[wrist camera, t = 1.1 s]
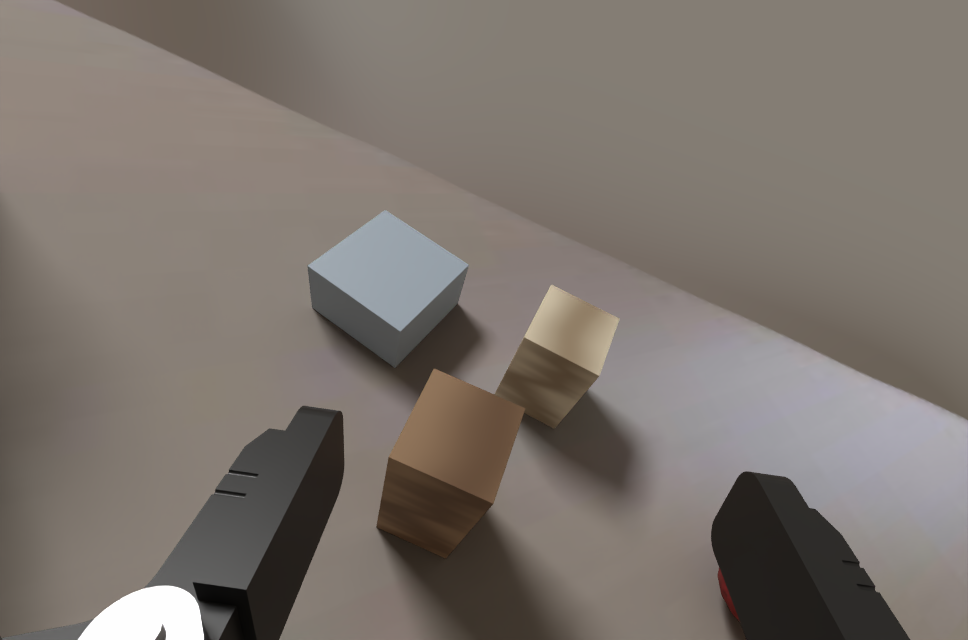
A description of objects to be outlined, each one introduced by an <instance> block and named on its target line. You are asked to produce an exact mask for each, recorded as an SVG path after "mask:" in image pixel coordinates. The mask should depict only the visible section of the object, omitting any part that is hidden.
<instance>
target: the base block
mask: <svg viewBox="0 0 968 640" xmlns="http://www.w3.org/2000/svg"><path fill="white" fill-rule="evenodd" d="M468 266H469V265H468V264H467V263H465V262H464V261H462V260H461V259H459V258H458V257H456V256H455V255H453V254H451V253H450V252H448V251H447V250H445V249H444V248H442V247H441V246H439V245H438V244H436V243H435V242H433V241H432V240H430V239H429V238H427V237H426V236H424V235H423V234H421V233H420V232H418V231H417V230H415V229H413V228H412V227H410V226H409V225H407V224H406V223H404V222H403V221H401V220H400V219H398V218H397V217H395V216H394V215H392V214H391V213H389V212H388V211H386V210H385V211H383V212H382V213H380V214H379V215H378V216H376V217H375V218H373V219H372V220H371V221H369V222H368V223H366V224H365V225H364V226H362V227H361V228H359V229H358V230H357V231H355V232H354V233H353V234H351V235H350V236H348V237H347V238H346V239H344V240H343V241H341V242H340V243H339V244H337V245H336V246H334V247H333V248H332V249H330V250H329V251H327V252H326V253H325V254H323V255H322V256H320V257H319V258H318V259H316V260H315V261H313V262H312V263H311V264H309V265H308V274H309V283H310V293H311V302H312V308H313V309H315V310H316V311H317V312H319V313H320V314H321V315H323V316H324V317H326V318H327V319H328V320H330V321H331V322H332V323H334V324H335V325H337V326H338V327H339V328H341V329H342V330H343V331H345V332H346V333H348V334H349V335H350V336H352V337H353V338H354V339H356V340H357V341H359V342H360V343H361V344H363V345H364V346H365V347H367V348H368V349H370V350H371V351H372V352H374V353H375V354H376V355H378V356H379V357H381V358H382V359H383V360H385V361H386V362H387V363H389V364H390V365H392V366H393V367H394V368H396V367H397V365H398V364H399V363H400V362H401V361H402V360H403V359H404V358H405V357H406V356H407V355H408V354H409V353H410V352H411V351H412V350H413V349H414V348H415V347H416V346H417V345H418V344H419V343H420V342H421V341H422V340H423V339H424V338H425V337H426V336H427V335H428V334H429V333H430V332H431V330H432V329H433V328H434V327H435V326H436V325H437V324H438V323H439V322H440V321H441V320H442V319H443V318H444V317H445V316H446V315H447V314H448V313H449V312H450V311H451V310H452V309H453V308H454V307H455V306H456V305H457V304H458V301H459V297H460V294H461V290H462V287H463V284H464V280H465V277H466V273H467V270H468Z"/></svg>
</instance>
